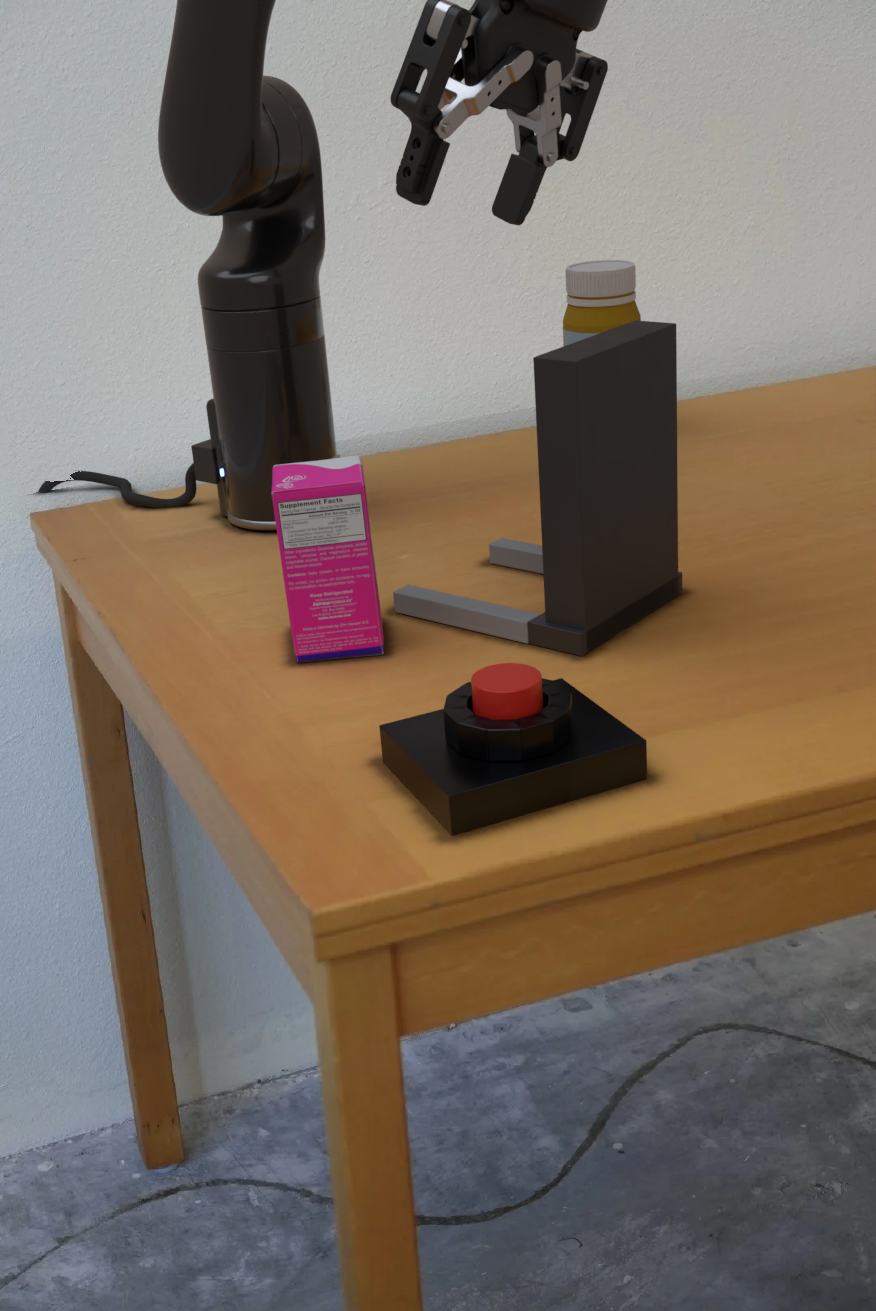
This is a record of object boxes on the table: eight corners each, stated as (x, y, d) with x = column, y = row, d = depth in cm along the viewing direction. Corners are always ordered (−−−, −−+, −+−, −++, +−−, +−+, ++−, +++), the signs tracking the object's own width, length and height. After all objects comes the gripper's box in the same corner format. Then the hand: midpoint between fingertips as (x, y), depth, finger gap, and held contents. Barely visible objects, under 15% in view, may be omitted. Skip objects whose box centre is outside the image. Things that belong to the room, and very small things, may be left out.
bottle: (641, 419, 139) (639, 257, 133) (643, 439, 133) (640, 270, 127) (567, 422, 140) (561, 261, 134) (565, 442, 134) (559, 274, 128)
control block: (452, 835, 72) (446, 762, 70) (382, 761, 79) (375, 694, 78) (647, 778, 75) (646, 708, 74) (563, 713, 83) (560, 648, 81)
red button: (491, 729, 74) (489, 698, 73) (461, 703, 77) (459, 672, 76) (555, 712, 75) (554, 681, 74) (523, 687, 78) (521, 657, 77)
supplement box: (292, 630, 97) (271, 461, 93) (381, 621, 98) (365, 453, 93) (291, 665, 92) (269, 488, 87) (385, 655, 92) (369, 479, 88)
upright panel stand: (394, 612, 99) (370, 343, 92) (503, 556, 107) (488, 307, 100) (580, 657, 90) (570, 363, 83) (683, 592, 98) (681, 321, 91)
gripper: (590, -62, 87) (492, 205, 94) (430, -138, 77) (332, 169, 83) (686, -27, 83) (577, 249, 90) (531, -102, 73) (420, 217, 79)
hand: (459, 210), depth 86 cm, fingers open, 8 cm apart
